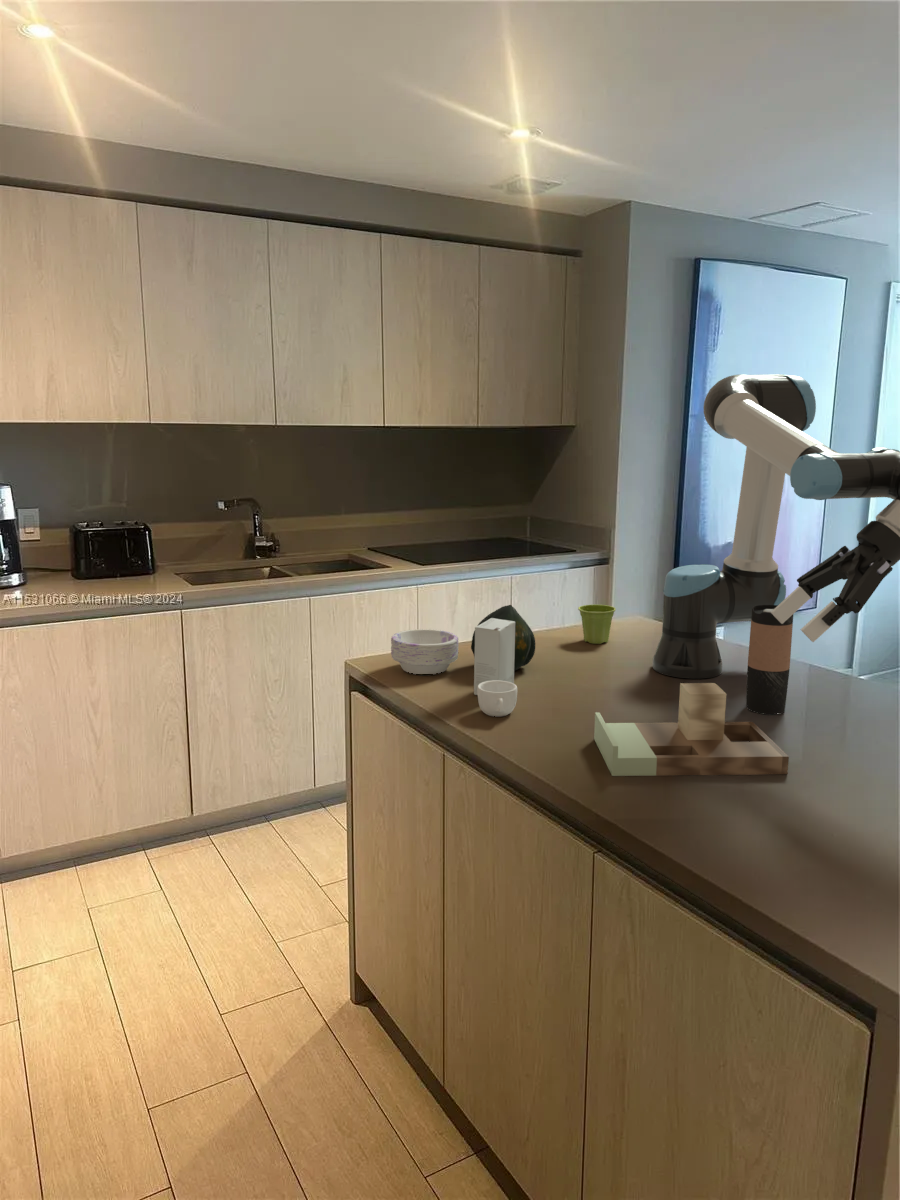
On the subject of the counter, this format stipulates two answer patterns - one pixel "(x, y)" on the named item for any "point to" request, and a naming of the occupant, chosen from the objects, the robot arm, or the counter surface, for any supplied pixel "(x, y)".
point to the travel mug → (768, 661)
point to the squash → (522, 635)
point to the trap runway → (714, 751)
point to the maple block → (702, 711)
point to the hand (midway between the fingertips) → (790, 626)
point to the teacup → (497, 697)
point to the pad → (624, 748)
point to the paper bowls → (424, 650)
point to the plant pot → (596, 622)
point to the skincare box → (494, 651)
